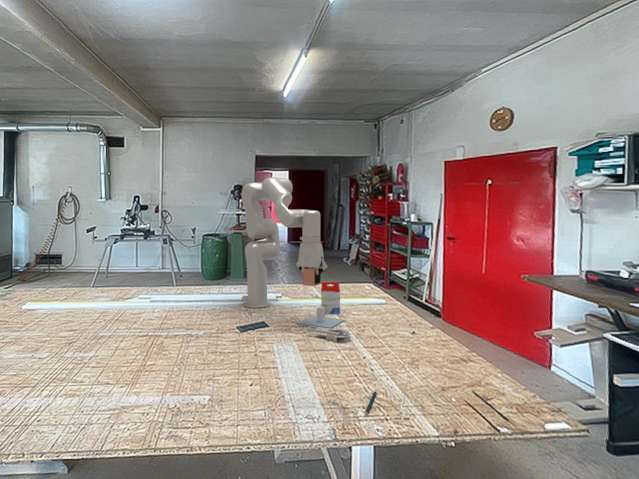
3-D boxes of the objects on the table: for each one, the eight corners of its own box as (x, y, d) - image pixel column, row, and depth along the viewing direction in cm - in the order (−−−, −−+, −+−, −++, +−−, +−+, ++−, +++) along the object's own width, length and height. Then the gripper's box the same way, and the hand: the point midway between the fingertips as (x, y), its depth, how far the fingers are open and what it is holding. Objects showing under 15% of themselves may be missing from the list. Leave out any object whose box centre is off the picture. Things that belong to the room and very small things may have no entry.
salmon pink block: (302, 285, 206) (302, 268, 205) (308, 283, 210) (308, 267, 210) (313, 286, 203) (313, 269, 203) (319, 284, 208) (319, 267, 207)
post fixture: (296, 324, 207) (296, 308, 207) (311, 316, 220) (312, 302, 219) (330, 329, 200) (330, 313, 200) (344, 321, 213) (344, 306, 212)
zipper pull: (313, 332, 196) (313, 321, 196) (354, 338, 187) (354, 327, 187) (303, 337, 189) (303, 326, 189) (345, 344, 180) (345, 332, 180)
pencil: (376, 394, 136) (367, 418, 122) (373, 394, 136) (363, 418, 122) (376, 391, 136) (367, 415, 122) (373, 391, 136) (363, 414, 122)
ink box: (340, 311, 230) (340, 280, 228) (339, 314, 225) (339, 282, 224) (322, 311, 231) (322, 280, 229) (320, 313, 226) (321, 282, 224)
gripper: (289, 239, 206) (289, 282, 208) (325, 241, 198) (325, 286, 200) (298, 238, 213) (298, 279, 214) (333, 240, 204) (333, 283, 206)
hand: (311, 282), depth 207 cm, fingers closed on salmon pink block, 5 cm apart
